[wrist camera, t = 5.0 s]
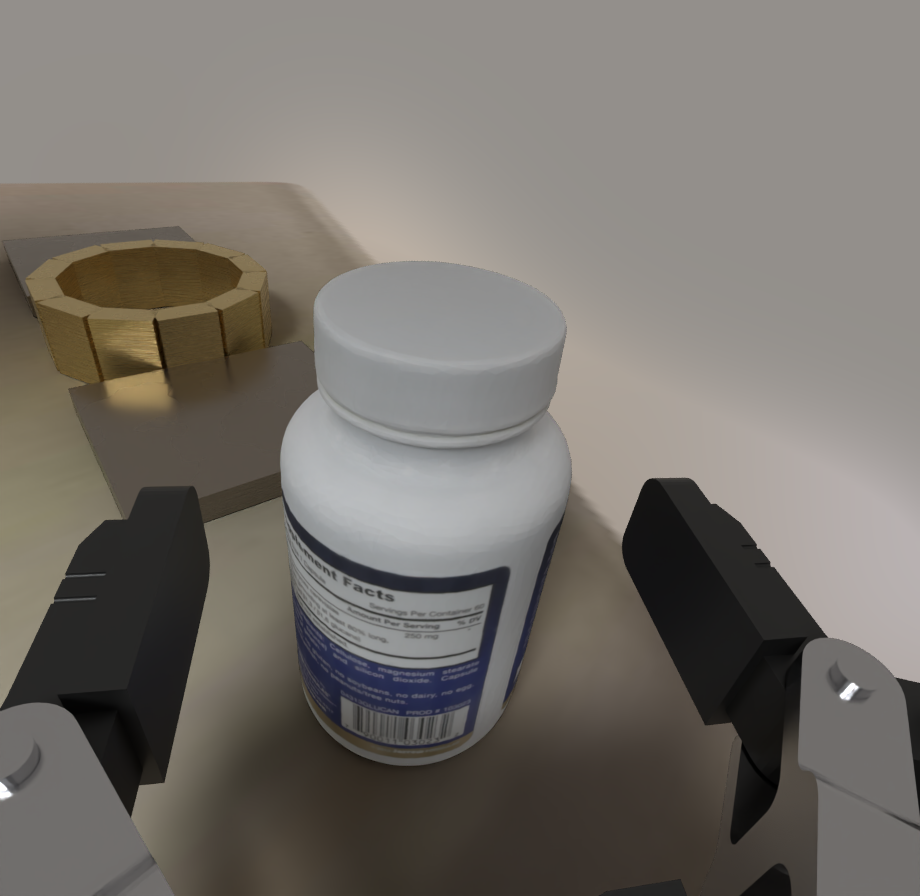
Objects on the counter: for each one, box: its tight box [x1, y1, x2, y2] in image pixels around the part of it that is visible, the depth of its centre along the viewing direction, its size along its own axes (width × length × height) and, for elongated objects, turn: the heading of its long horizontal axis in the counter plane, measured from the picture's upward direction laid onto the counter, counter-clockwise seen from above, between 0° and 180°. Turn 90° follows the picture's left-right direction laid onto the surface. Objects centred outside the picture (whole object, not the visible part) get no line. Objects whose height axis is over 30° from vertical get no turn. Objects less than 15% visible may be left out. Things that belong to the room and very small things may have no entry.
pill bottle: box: [280, 261, 572, 766], centre depth 12 cm, size 5×5×10 cm
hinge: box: [2, 226, 318, 523], centre depth 26 cm, size 9×25×3 cm, turn 38°
